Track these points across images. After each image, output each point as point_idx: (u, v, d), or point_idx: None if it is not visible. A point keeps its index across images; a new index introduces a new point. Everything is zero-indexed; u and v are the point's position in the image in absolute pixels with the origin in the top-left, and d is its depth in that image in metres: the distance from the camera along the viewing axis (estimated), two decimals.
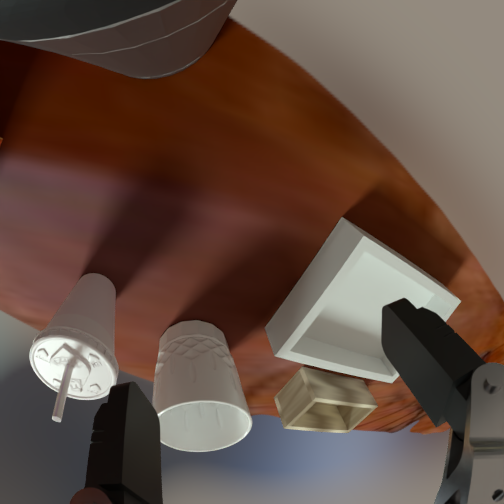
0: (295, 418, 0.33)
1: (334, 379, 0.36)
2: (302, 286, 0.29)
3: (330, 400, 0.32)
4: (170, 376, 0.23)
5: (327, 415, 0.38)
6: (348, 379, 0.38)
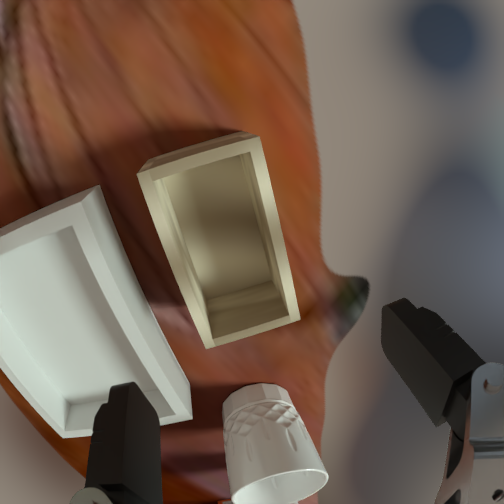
0: (267, 329, 0.19)
1: None
2: None
3: (195, 319, 0.18)
4: None
5: (253, 192, 0.18)
6: None
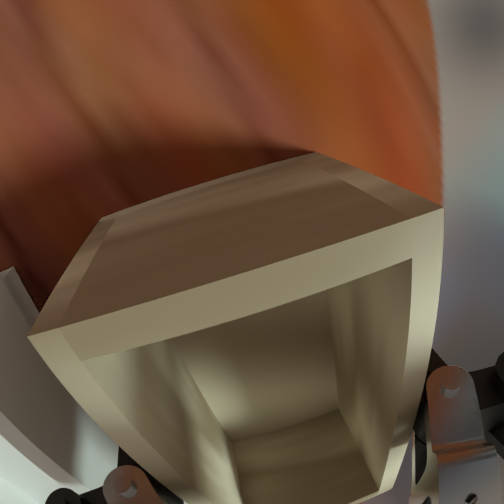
0: None
1: None
2: None
3: None
4: None
5: (352, 311, 0.08)
6: None
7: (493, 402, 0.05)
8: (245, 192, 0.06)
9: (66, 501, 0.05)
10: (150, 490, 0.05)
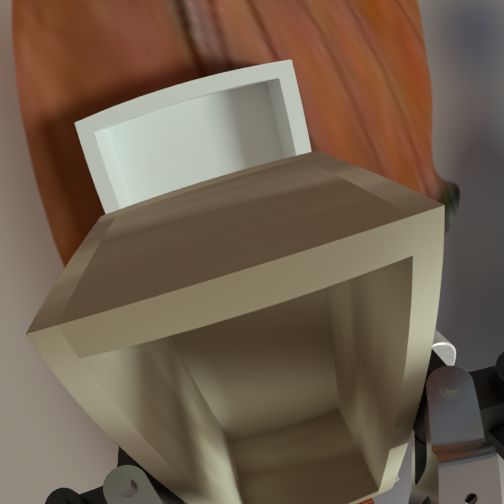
0: None
1: None
2: None
3: None
4: None
5: (352, 310, 0.08)
6: None
7: (493, 402, 0.05)
8: (245, 190, 0.06)
9: (66, 501, 0.05)
10: (150, 490, 0.05)
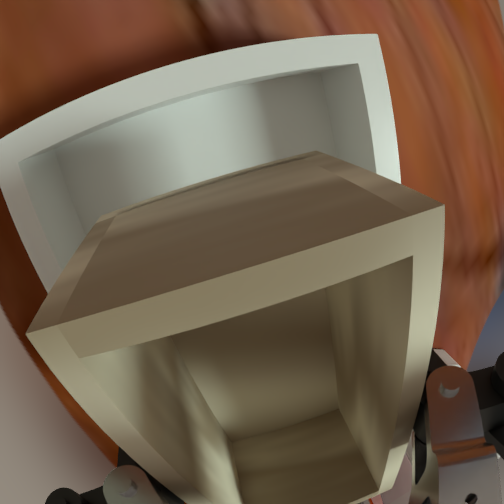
0: None
1: None
2: None
3: None
4: None
5: (352, 310, 0.08)
6: None
7: (493, 402, 0.05)
8: (245, 190, 0.06)
9: (66, 501, 0.05)
10: (150, 490, 0.05)
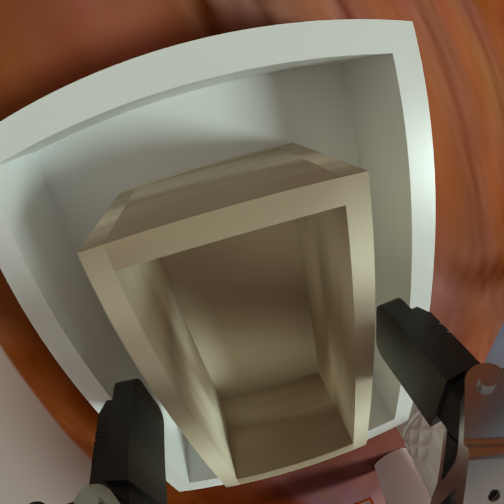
0: (318, 462, 0.11)
1: None
2: None
3: (211, 465, 0.10)
4: None
5: (319, 265, 0.10)
6: None
7: None
8: (235, 169, 0.09)
9: None
10: None
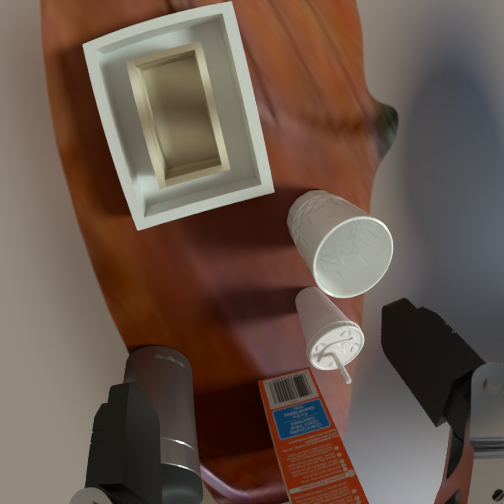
0: (205, 175, 0.26)
1: None
2: None
3: (153, 161, 0.25)
4: None
5: (201, 83, 0.25)
6: None
7: None
8: None
9: None
10: None
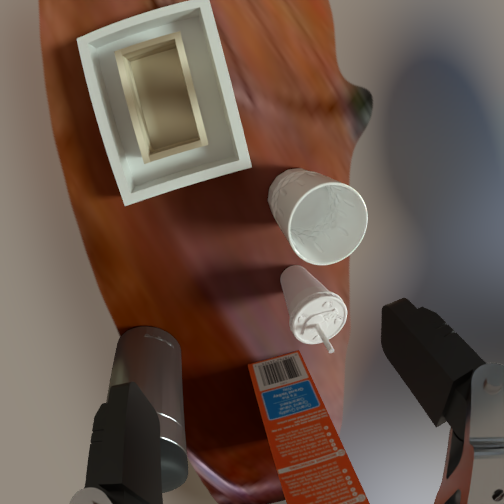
0: (185, 150, 0.27)
1: None
2: None
3: (138, 139, 0.26)
4: None
5: None
6: None
7: None
8: None
9: None
10: None
